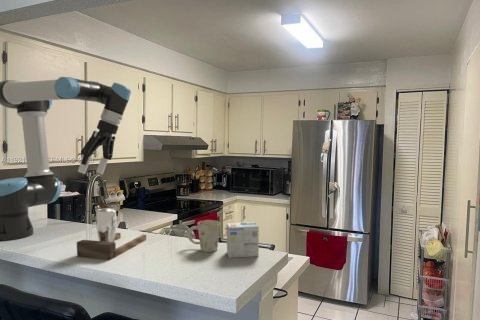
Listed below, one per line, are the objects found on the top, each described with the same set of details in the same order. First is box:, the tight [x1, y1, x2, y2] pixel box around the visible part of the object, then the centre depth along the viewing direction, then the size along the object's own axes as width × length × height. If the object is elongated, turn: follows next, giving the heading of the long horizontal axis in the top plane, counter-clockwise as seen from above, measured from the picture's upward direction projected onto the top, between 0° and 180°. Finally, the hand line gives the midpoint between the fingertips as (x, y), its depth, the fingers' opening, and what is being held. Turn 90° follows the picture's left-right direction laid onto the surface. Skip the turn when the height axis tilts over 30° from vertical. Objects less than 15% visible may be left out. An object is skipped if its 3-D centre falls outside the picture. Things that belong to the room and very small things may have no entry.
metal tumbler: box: [95, 207, 118, 242], centre depth 127 cm, size 7×7×15 cm
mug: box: [187, 219, 221, 253], centre depth 130 cm, size 8×13×10 cm, turn 78°
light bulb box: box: [226, 221, 260, 259], centre depth 125 cm, size 11×7×11 cm, turn 100°
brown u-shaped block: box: [76, 232, 147, 261], centre depth 132 cm, size 24×13×5 cm, turn 166°
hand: (90, 173), depth 139 cm, fingers open, 13 cm apart
